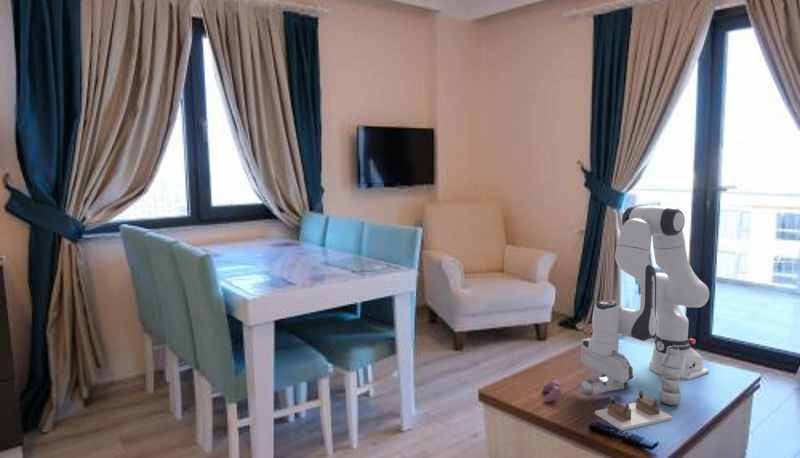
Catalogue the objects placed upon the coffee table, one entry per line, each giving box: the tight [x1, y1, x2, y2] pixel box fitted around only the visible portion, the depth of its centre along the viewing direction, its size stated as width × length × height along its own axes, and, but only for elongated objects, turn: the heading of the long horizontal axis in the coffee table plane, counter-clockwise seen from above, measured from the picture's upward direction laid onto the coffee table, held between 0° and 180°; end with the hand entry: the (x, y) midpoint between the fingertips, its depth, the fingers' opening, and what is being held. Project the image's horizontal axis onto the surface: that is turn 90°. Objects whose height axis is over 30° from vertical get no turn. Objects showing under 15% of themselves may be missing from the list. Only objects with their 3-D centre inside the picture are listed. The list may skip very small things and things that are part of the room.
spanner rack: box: [594, 389, 674, 431], centre depth 174 cm, size 21×12×6 cm, turn 111°
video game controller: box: [542, 379, 563, 403], centre depth 189 cm, size 10×5×7 cm, turn 169°
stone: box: [601, 359, 634, 384], centre depth 200 cm, size 13×8×10 cm
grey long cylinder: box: [581, 376, 625, 397], centre depth 188 cm, size 18×4×4 cm, turn 111°
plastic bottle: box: [658, 346, 683, 406], centre depth 183 cm, size 6×7×20 cm
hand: (603, 384), depth 188 cm, fingers closed on grey long cylinder, 3 cm apart
